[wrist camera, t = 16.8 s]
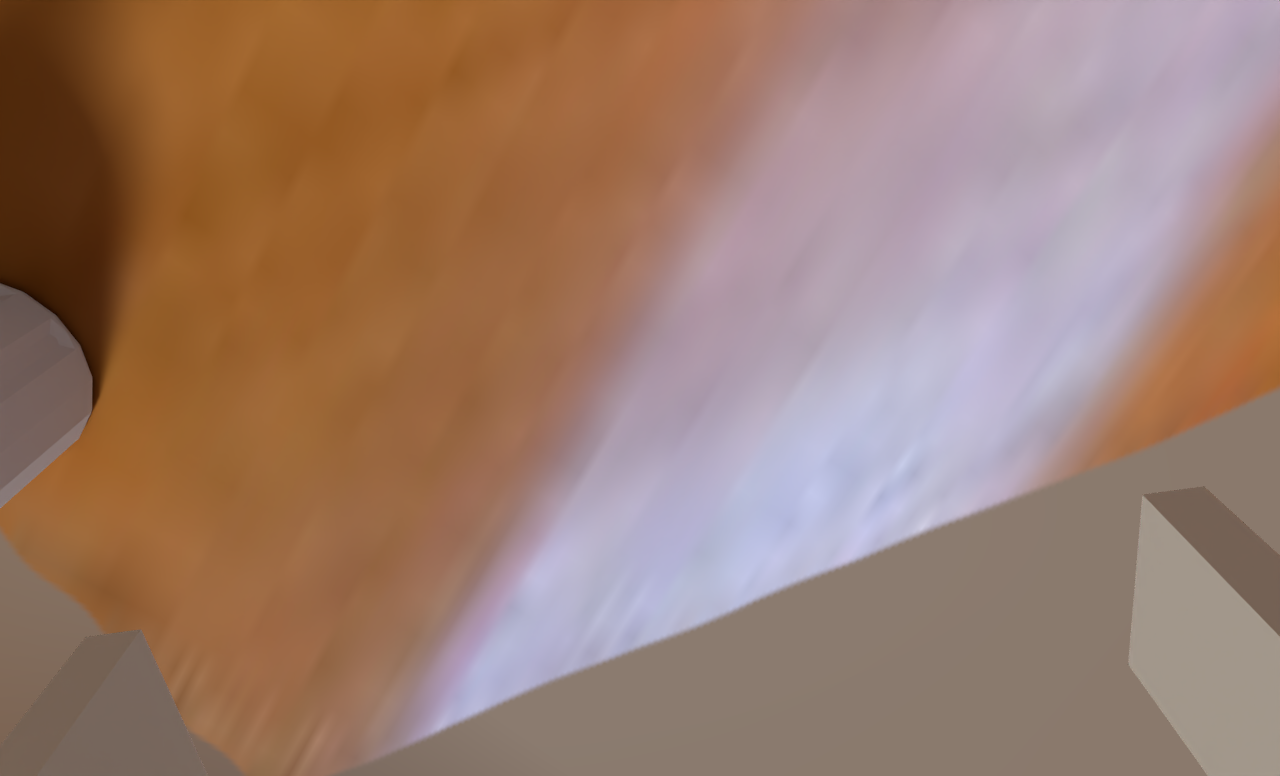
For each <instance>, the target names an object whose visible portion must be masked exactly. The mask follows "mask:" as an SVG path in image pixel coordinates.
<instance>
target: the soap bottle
mask: <svg viewBox="0 0 1280 776" xmlns="http://www.w3.org/2000/svg"><path fill="white" fill-rule="evenodd" d="M92 378H93V377H92V375H91V372H90V370H89V367H88V364H87V362H86V359H85V356H84V354H83V351H82V349H81V346H80V344H79V343H78V342H77V341H76V339H75V338H74V337H73V336H72V334H71V333H70V332H69V331H68V329H67V328H66V327H65V326H64V324H63V323H62V322H61V321H60V319H59V318H58V317H57V316H56V315H55V314H54V313H52V312H51V311H50V310H48V309H47V308H45V307H44V306H43V305H41V304H40V303H38V302H37V301H36V300H34V299H33V298H31V297H30V296H29V295H27V294H26V293H24V292H23V291H20V290H17V289H15V288H12V287H9V286H7V285H4V284H1V283H0V508H1V507H2V506H3V505H4V504H6V503H7V502H8V501H9V500H10V499H11V498H12V497H13V496H15V495H16V494H17V493H18V492H19V491H20V490H21V489H22V488H24V487H25V486H26V485H27V484H28V483H29V482H30V481H31V480H33V479H34V478H35V477H36V476H37V475H38V474H39V473H40V472H42V471H43V470H44V469H45V468H46V467H47V466H48V465H49V464H51V463H52V462H53V461H54V460H55V459H56V458H57V457H58V456H60V455H61V454H62V453H63V452H64V451H65V450H66V449H67V448H69V447H70V446H71V445H72V444H73V443H74V442H75V441H76V440H78V439H79V437H80V435H81V433H82V431H83V429H84V427H85V425H86V423H87V421H88V418H89V416H90V414H91V412H92Z"/></svg>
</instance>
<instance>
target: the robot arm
mask: <svg viewBox="0 0 1280 776" xmlns="http://www.w3.org/2000/svg"><path fill="white" fill-rule="evenodd" d="M1128 665H1129V666H1130V667H1131V669H1132V670H1133V672H1134V673H1135V674H1136V676H1137V677H1138V678H1139V680H1140V681H1141V683H1142V684H1143V686H1144V687H1145V688H1146V690H1147V691H1148V692H1149V694H1150V695H1151V697H1152V698H1153V700H1154V701H1155V702H1156V704H1157V705H1158V707H1159V708H1160V709H1161V711H1162V712H1163V714H1164V715H1165V716H1166V718H1167V719H1168V720H1169V722H1170V723H1171V725H1172V726H1173V728H1174V729H1175V730H1176V732H1177V733H1178V735H1179V736H1180V737H1181V739H1182V740H1183V741H1184V743H1185V744H1186V746H1187V747H1188V749H1189V750H1190V751H1191V753H1192V754H1193V755H1194V757H1195V758H1196V760H1197V761H1198V763H1199V764H1200V765H1201V766H1202V768H1203V769H1204V771H1205V772H1206V774H1207V775H1208V776H1280V555H1279V554H1278V553H1277V552H1275V551H1274V550H1273V549H1272V548H1271V547H1270V546H1269V545H1268V544H1267V543H1266V542H1264V541H1263V540H1262V539H1261V538H1260V537H1259V536H1258V535H1257V534H1256V533H1255V532H1253V531H1252V530H1251V529H1250V528H1249V527H1248V526H1247V525H1246V524H1245V523H1244V522H1243V521H1241V520H1240V519H1239V518H1238V517H1237V516H1236V515H1235V514H1234V513H1233V512H1232V511H1230V510H1229V509H1228V508H1227V507H1226V506H1225V505H1224V504H1223V503H1222V502H1221V501H1219V500H1218V499H1217V498H1216V497H1215V496H1214V495H1213V494H1212V493H1211V492H1210V491H1209V490H1207V489H1206V488H1205V487H1204V486H1203V487H1196V488H1188V489H1182V490H1174V491H1167V492H1159V493H1152V494H1144V495H1142V507H1141V518H1140V531H1139V542H1138V554H1137V566H1136V578H1135V590H1134V603H1133V614H1132V627H1131V638H1130V651H1129V662H1128ZM0 776H208V774H207V772H206V770H205V768H204V765H203V763H202V761H201V759H200V757H199V755H198V753H197V750H196V748H195V746H194V744H193V742H192V739H191V737H190V735H189V733H188V731H187V728H186V726H185V724H184V722H183V720H182V718H181V715H180V713H179V711H178V709H177V707H176V705H175V702H174V700H173V698H172V696H171V694H170V692H169V689H168V687H167V685H166V683H165V681H164V678H163V676H162V674H161V672H160V670H159V668H158V665H157V663H156V661H155V659H154V657H153V655H152V652H151V650H150V648H149V646H148V644H147V641H146V639H145V637H144V635H143V633H142V631H141V630H134V631H127V632H119V633H112V634H104V635H97V636H89V637H85V638H84V640H83V641H82V642H81V644H80V645H79V646H78V647H77V649H76V650H75V651H74V652H73V654H72V655H71V656H70V657H69V659H68V660H67V661H66V662H65V664H64V665H63V666H62V668H61V669H60V670H59V671H58V673H57V674H56V675H55V676H54V678H53V679H52V680H51V681H50V683H49V684H48V686H47V687H46V688H45V689H44V690H43V692H42V693H41V694H40V695H39V697H38V698H37V699H36V701H35V702H34V703H33V705H32V706H31V707H30V708H29V709H28V711H27V712H26V713H25V715H24V716H23V717H22V718H21V720H20V721H19V722H18V723H17V725H16V726H15V727H14V729H13V730H12V731H11V732H10V734H9V735H8V736H7V737H6V739H5V740H4V741H3V743H2V744H1V745H0Z"/></svg>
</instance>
